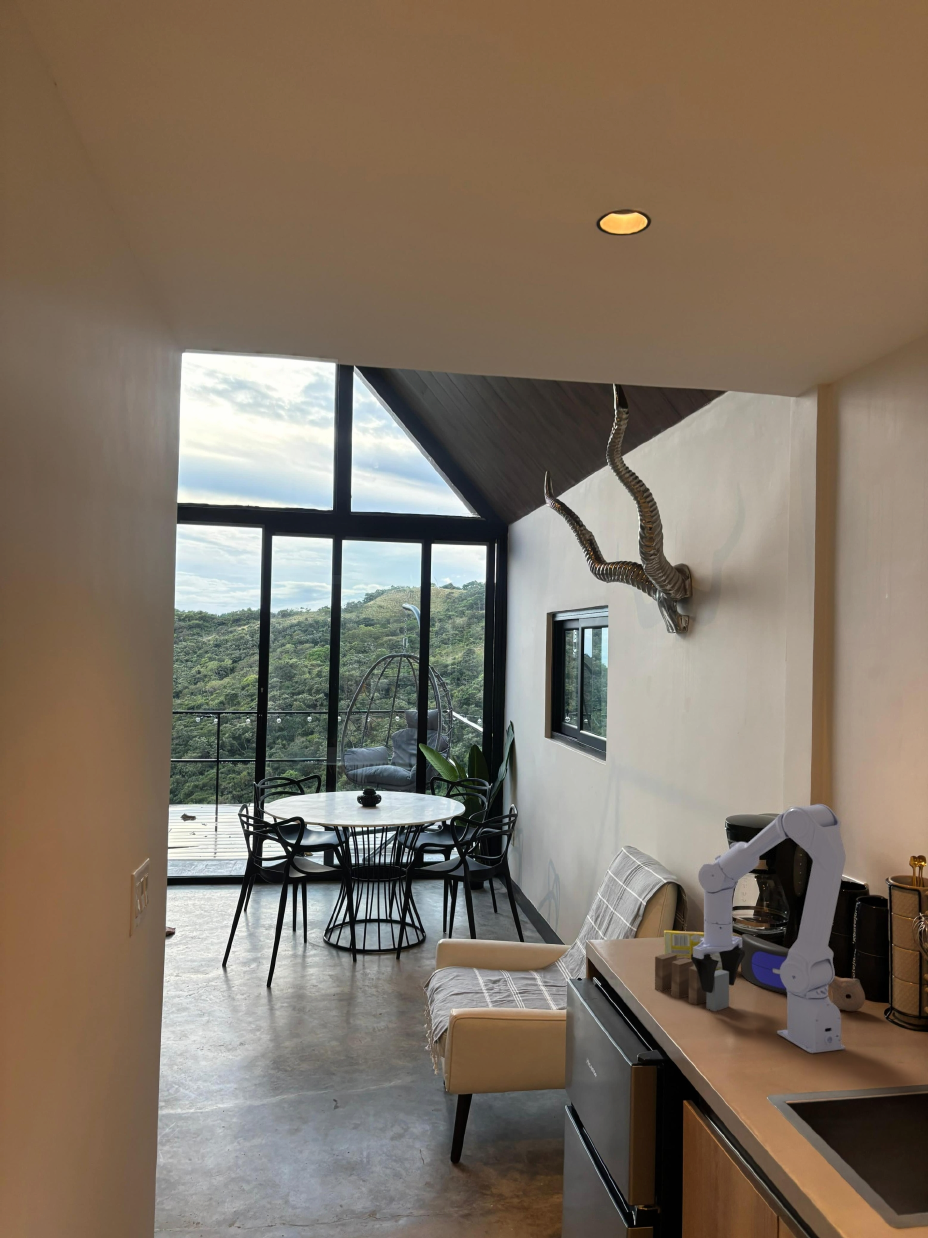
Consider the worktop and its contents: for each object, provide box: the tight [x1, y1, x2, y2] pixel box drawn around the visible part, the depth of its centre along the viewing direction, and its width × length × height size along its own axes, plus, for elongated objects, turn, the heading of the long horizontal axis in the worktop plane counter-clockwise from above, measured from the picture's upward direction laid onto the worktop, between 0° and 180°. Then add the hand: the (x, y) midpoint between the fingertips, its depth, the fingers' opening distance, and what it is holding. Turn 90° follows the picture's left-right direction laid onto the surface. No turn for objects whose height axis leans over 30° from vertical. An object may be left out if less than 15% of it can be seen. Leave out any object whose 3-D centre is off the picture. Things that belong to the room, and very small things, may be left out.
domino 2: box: [670, 958, 694, 999], centre depth 184 cm, size 2×5×7 cm, turn 128°
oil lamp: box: [828, 975, 866, 1012], centre depth 177 cm, size 9×4×8 cm, turn 80°
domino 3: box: [688, 966, 707, 1006], centre depth 181 cm, size 2×5×7 cm, turn 128°
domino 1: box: [654, 953, 677, 993], centre depth 188 cm, size 2×5×7 cm, turn 128°
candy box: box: [663, 930, 735, 971], centre depth 202 cm, size 16×2×8 cm, turn 84°
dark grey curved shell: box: [740, 933, 790, 995], centre depth 191 cm, size 16×5×9 cm, turn 27°
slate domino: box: [706, 969, 730, 1012], centre depth 177 cm, size 2×5×7 cm, turn 129°
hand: (718, 987), depth 177 cm, fingers open, 7 cm apart
